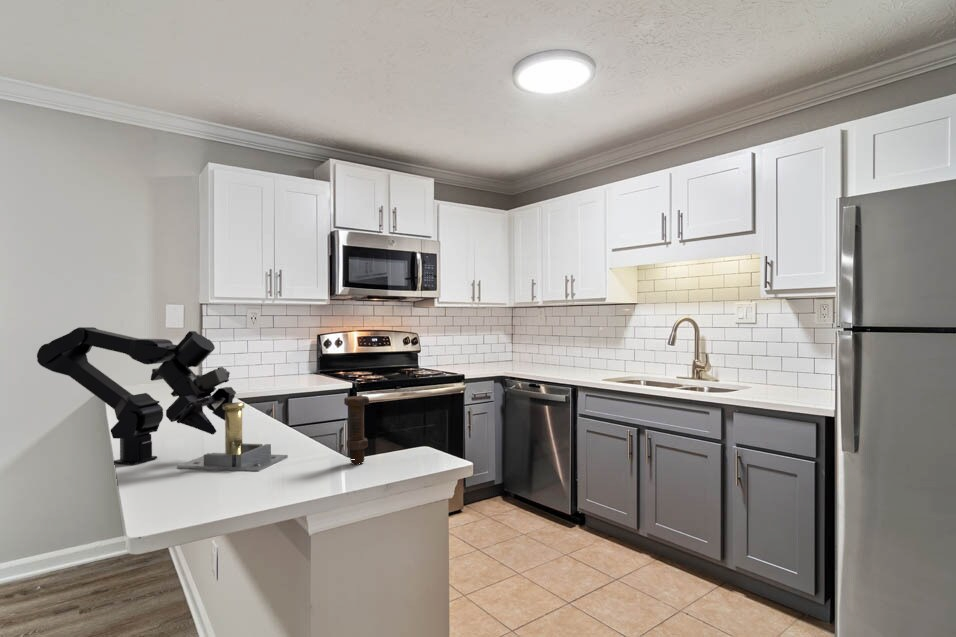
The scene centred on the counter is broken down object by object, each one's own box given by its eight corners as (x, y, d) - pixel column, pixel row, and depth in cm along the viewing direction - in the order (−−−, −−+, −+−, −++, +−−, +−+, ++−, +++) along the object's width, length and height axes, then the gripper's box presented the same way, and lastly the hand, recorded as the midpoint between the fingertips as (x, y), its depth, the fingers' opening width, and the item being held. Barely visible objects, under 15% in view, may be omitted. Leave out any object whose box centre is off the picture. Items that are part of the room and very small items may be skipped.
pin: (219, 462, 120) (219, 405, 120) (227, 457, 125) (227, 402, 125) (240, 462, 120) (239, 405, 120) (247, 457, 125) (247, 402, 125)
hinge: (177, 468, 118) (177, 454, 118) (213, 455, 130) (213, 442, 130) (258, 471, 115) (258, 456, 115) (287, 457, 127) (287, 444, 127)
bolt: (373, 460, 122) (372, 395, 123) (366, 466, 117) (365, 398, 118) (348, 460, 123) (348, 395, 123) (341, 466, 118) (340, 398, 118)
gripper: (179, 359, 114) (226, 411, 113) (228, 354, 133) (270, 399, 131) (145, 395, 115) (191, 447, 114) (199, 385, 134) (240, 430, 132)
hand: (226, 429), depth 123 cm, fingers open, 9 cm apart
